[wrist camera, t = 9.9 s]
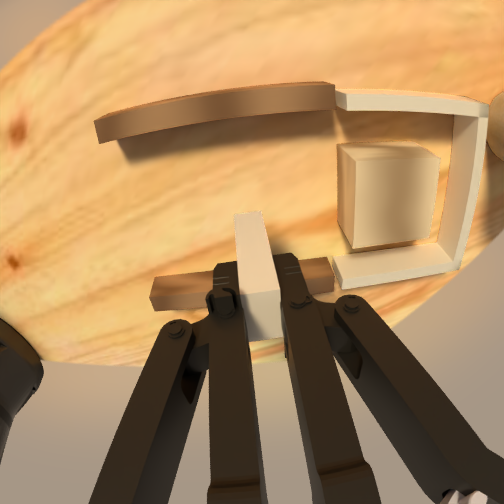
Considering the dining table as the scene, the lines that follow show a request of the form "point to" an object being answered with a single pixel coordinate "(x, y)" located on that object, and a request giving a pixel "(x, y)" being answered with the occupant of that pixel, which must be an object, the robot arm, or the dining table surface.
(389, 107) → the corral
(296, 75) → the dining table surface
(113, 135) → the slot rails
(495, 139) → the flower pot
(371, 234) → the beige square block
